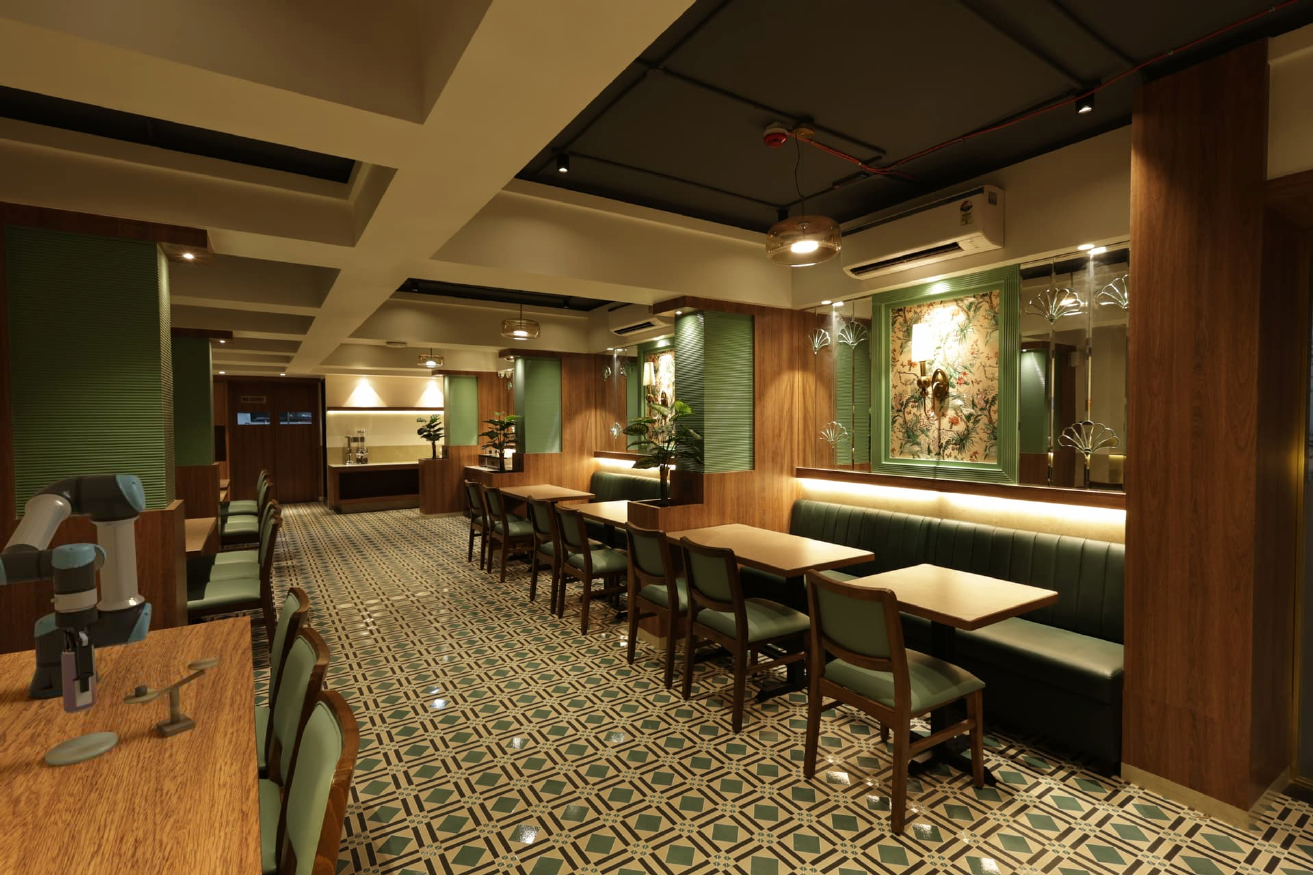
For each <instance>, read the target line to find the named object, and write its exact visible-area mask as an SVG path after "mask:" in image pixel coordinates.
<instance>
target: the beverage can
mask: <svg viewBox="0 0 1313 875" xmlns="http://www.w3.org/2000/svg"><path fill="white" fill-rule="evenodd" d="M92 658H93V672H94V675H93V676H91V692H92V703H89V704H85V705H82V706H79V707H77V706H76V691H75V681H74V682H73V680H72V679H75V678H76V669H75V655H74V652H71V651H70V649H64V650H63V651H62V655H61V663H62V686H63V695H62V703H63V704H62V705H63V706H62V708H63V711H64V712H65V713H66V714H77V713H81V712H82V713H83V712H85V711H88V710H91V709H92V708H93V707H95V706H96V704H97V702H98V697H97V695H98V693H97V682H96V670H97V669H96V649H94V645H92Z"/></svg>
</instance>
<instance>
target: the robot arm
mask: <svg viewBox="0 0 1313 875" xmlns="http://www.w3.org/2000/svg"><path fill="white" fill-rule="evenodd" d="M146 506H147V503H146V495H145V489H144V486H143V484H142V481H141V479H140V477H138V476H137V475H136V474H135V475H134V474H120V473H119V474H105V475H90V476H71V477H66V478H62V479H59V480H57V481H55V482H51V483H50V484H48V485H46V486H44V487H43V488H40V489H39V490H38V491H36V492H34V494H33V495H32V496H31V497H29V499H28V500H27V502H26V504H25V507H24V513H25V514H24V515H23V517H22V519H21V520H20V522H19V524H18V525H17V527H16V528H15V531H14V532H13V533H12V535H11V537H10V539H9V541H8V542H7V543H6V546H4V548H3V550H2V551H1V553H0V586H2V585H3V586H6V585H12V584H13V585H14V584H21V583H29V582H36V581H37V582H38V581H45V580H47V581H48V580H53V593H54V595H53V596H54V598H51V599H50V603H54V610H55V612H53V613H50V614H47V615H44V616H43V617H41V618H39V619H38V620H37V621H36V622H35V624H34V634H33V637H34V649H35V662H36V663H35V665H36V666H35V667H36V668H35V671H34V673H33V676H32V679H31V681H30V683H29V687H28V695H29V698H32V699H49V698H50V699H51V698H56V697H57V698H58V697H61V696H62V697H63V686H62V663H61V655H62V651H63V650H64V649H70V651H71V652H74V655H75V669H76V678H75V679H72V680H73V682H74V681H75V691H76V706H77V707H79V706H82V705H85V704H89V703H92V692H91V676H93V675H94V672H93V658H92V645H94V649H95V650H97V649H103V648H108V647H116V646H122V645H123V646H124V645H129V644H133V643H138V642H142V641H143V640H145V638H147V635H148V633H149V629H150V625H151V624H150V623H151V617H152V604H151V603H149V602H145V601H146V600H145V597H144V596H142V595H141V594H139V591H138V590H139V589H138V586H139V585H138V573H137V556H136V552H137V551H136V539H135V536H136V535H135V524H134V523H135V521H137V519H139V518H140V514H141V513H140V512H142V511H145V510H146ZM74 516H89V522H90V523H92V524H94V525H96V530H97V531H96V533H97V544H96V543H89V542H81V543H79V542H77V543H71V544H62V545H61V546H60V545H59V546H57V547H55V548H52V549H48V547H49V545H50V543H51V541H52V540H53V537H54V536H55V533H56V532H57V530H58V528H59V526H60V524H61V522H63V521H65V520H67V519H68V517H74ZM98 571H99V577H100V590H101V591H100V592H101V593H100V594H101V600H100V601H99V602H98V594H97V592H98V591H97V584H96V583H97V581H96V580H97V578H96V573H97V572H98ZM97 682H99V672H98V670H97V669H96V683H97Z"/></svg>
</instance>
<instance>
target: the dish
mask: <svg viewBox="0 0 1313 875" xmlns="http://www.w3.org/2000/svg"><path fill="white" fill-rule="evenodd" d="M118 742H119V739H118V734H117V733H116V732H112V731H100V732H94V733H89V734H84V735H80V736H78V737H74V738H70V739H68V740H66V741H64V742H61V743H59V744H57V745H56V746H55V745H54V746H53V747H52V748H50V749H49V750H48V751H47V752H46V754H45V755H44V757H45V758H44V762H45V764H46V765H48V766H55V767H57V766H58V767H60V766H69V765H74V764H78V763H81V762H85V761H87V760H90V759H94V758H97V757H98V756H101V755H102V754H105V753H107V752H108V751H110V750H112V749H113V748H114V747H116V745H117V744H118Z"/></svg>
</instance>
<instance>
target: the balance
mask: <svg viewBox="0 0 1313 875" xmlns="http://www.w3.org/2000/svg"><path fill="white" fill-rule="evenodd" d="M220 660H221V659H220V658H218V657H207V658H201V659H198V660H194V661H192V662H190V663H188V665H187V670H188V671H196V672H194V673H193V674H190V675H189V676H187V677H185V678H182V679H181V680H179V681H177V682H174V684H171V685H169V686H168V687H166V688H164V689H162V690H159V689H157V688H148V685H146V684H143V685H139V686H136V687H135V688H134V692H131V693H129V694H127V695H126V696H124V697H123V698H122V703H123V704H126V705H132V704H133V705H135V704H141V706H143V707H144V706H147V705H149V704H151V703H153V702H154V701H156V700H159V699H160V698H162V697H164V696H165V695H168V697H169V716H170V718H166V719H163V720H159V721H157V722H155V729H156V730H158V732H160V733H161V734H162V735H163V736H165V737H166V738H169V737H172V736H174V735H178V734H179V733H183V732H186V731H188V730H192V729H194V728H195V727H196V721H195V720H193V719H192V718H190V717H189V716H187V715H186V714H185V713H181V709H180V687H182V686H184V685H186V684H188V683H190V682H192V681H194V680H196V679H198V678H199V677H201V676H203V675H205V674H206V672H205V671H206V670H207V669H210V668H214V667H216V666H218V665H219V664H220Z"/></svg>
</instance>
